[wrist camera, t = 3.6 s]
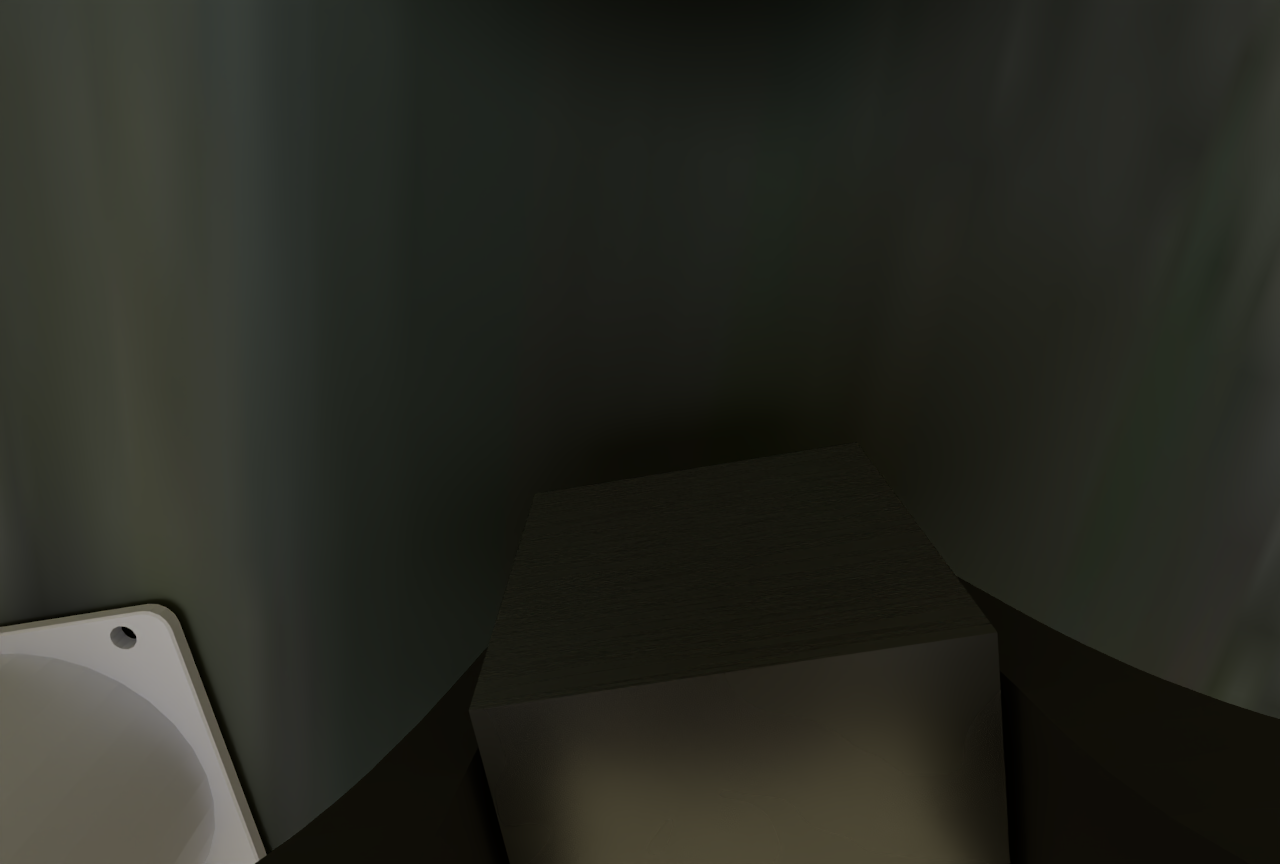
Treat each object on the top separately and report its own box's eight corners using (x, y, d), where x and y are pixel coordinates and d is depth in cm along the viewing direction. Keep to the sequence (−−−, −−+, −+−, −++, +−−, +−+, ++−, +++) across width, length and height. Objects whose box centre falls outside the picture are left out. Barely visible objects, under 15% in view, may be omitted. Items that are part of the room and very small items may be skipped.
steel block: (594, 760, 14) (569, 1086, 9) (534, 494, 12) (468, 709, 8) (885, 718, 13) (1019, 1031, 9) (856, 442, 12) (996, 632, 7)
